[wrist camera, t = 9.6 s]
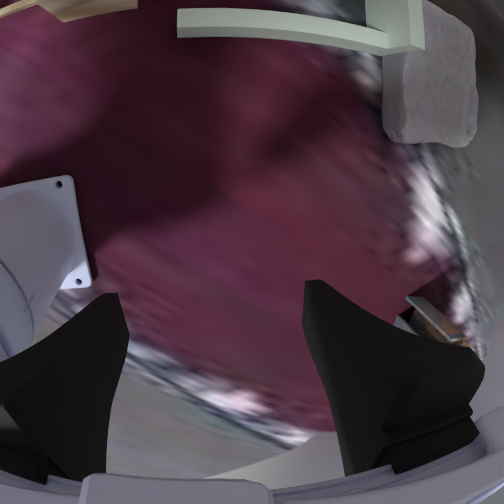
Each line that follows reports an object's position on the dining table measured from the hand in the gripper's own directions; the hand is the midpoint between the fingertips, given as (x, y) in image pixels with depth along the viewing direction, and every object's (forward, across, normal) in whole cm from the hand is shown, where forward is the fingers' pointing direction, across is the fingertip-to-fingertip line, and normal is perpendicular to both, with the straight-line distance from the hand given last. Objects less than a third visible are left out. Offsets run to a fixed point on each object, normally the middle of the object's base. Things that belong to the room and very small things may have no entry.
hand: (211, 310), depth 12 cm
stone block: (+13, -17, -11) cm, 24 cm away
